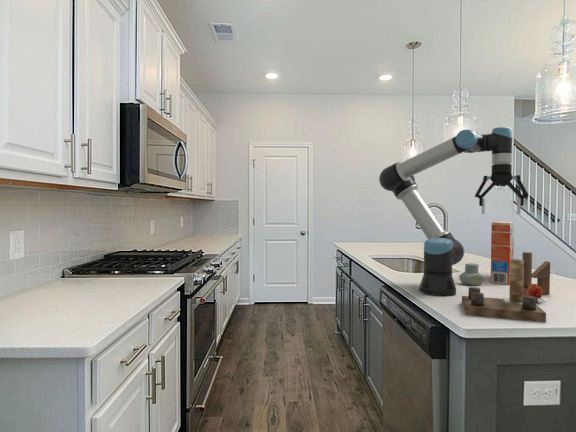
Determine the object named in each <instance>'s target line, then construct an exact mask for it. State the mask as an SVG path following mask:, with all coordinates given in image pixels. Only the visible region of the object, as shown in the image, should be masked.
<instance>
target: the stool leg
mask: <svg viewBox="0 0 576 432" xmlns="http://www.w3.org/2000/svg"><path fill="white" fill-rule="evenodd" d="M523 287H524V260H522V259H517V258H516V259H514V258H513V259H510V285H509V298H510V301H512V302H522V298H523V296H524V295H523Z"/></svg>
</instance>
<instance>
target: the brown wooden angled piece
mask: <svg viewBox="0 0 576 432" xmlns="http://www.w3.org/2000/svg"><path fill="white" fill-rule="evenodd" d="M521 260H524V285H525V286H527V285H530V284H533V283H532V279H536V282H537V283H536V284H538V285H539V286H541V288H542V289H543V295H542V296H545V295H548V296H549V295H550V292H551V291H550V289H551V288H550V287H551V286H550V283H551V279H550V278H551V261H549V260H548V261H547V260H544V262H543V263H541V265H540V266H538V267H537V268H536V269H535V270H534V271H533V265H532V264H533V253H532V252H529V251H523V252H522V259H521ZM524 289H525V287H523V290H524Z"/></svg>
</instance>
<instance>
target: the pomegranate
mask: <svg viewBox="0 0 576 432" xmlns="http://www.w3.org/2000/svg"><path fill="white" fill-rule="evenodd" d="M524 287H525V289H524V290H523V296H532V297H536V303H537V302H538V301H539V300H540V301H542V302H544V303H545V302H546V301H545V300H543V299H542V297H543V296H544V295H543V289H542V288H541V286H539V285H538V284H537V283H531V284H530V285H527V286H525V285H524Z"/></svg>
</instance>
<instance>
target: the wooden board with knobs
mask: <svg viewBox="0 0 576 432" xmlns="http://www.w3.org/2000/svg"><path fill="white" fill-rule="evenodd" d="M462 305H463V306H462ZM461 306H462V308H463V312H464V313H465V316H471V315H472V317H473V316H474V317H483V318H494V319H495V318H497V319H504V320H505V319H506V320H507V319H508V320H516V319H517V320H516V321H519V320H520V321H528V320H530V322H539V321H540V322H541V323H546V322H547V312H546V311H545V310H543V308H541V307H540V306H539V305H538V304H537V302H536V297H532V296H524V295H523V298H522V302H512V301H510V297H509V298H508V297H502V298H499V297H498V298H497V297H485V293H482V292H481V288H480V287H476V286H469V287H468V295H462V296H461ZM540 322H539V323H540Z"/></svg>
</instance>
